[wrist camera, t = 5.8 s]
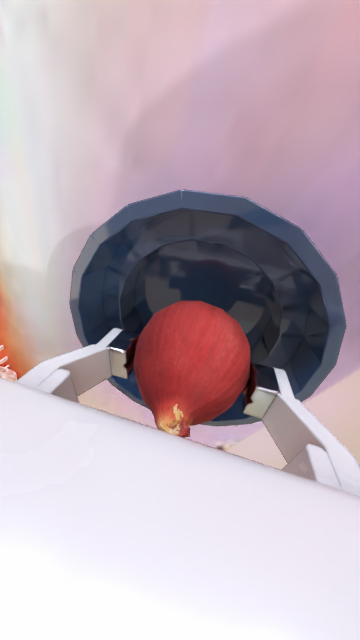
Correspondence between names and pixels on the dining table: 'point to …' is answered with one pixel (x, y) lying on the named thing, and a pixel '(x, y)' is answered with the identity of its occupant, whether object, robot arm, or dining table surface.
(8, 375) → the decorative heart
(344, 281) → the dining table surface
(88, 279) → the bowl
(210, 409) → the onion
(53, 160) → the dining table surface
